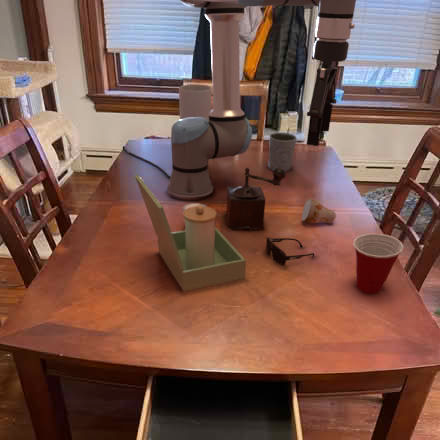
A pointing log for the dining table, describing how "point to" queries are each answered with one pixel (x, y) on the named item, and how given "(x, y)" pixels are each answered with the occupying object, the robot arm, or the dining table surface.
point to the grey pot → (281, 150)
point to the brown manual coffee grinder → (249, 202)
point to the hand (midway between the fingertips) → (318, 137)
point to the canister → (199, 236)
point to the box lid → (159, 221)
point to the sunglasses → (278, 253)
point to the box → (209, 275)
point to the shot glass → (191, 206)
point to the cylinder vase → (195, 101)
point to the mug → (317, 213)
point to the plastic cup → (375, 260)
